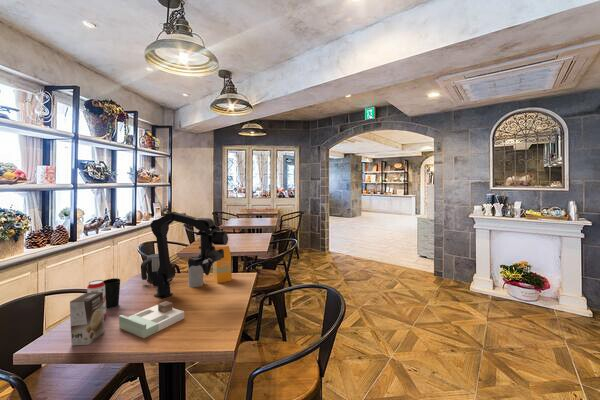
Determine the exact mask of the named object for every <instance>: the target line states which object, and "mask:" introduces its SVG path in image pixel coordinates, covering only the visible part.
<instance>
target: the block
mask: <svg viewBox="0 0 600 400" xmlns="http://www.w3.org/2000/svg"><path fill="white" fill-rule="evenodd" d="M157 305H158V311H160V312H163V313H166V312H168V311H170V310H172V309H173V308H174V307H173V302H171V301H169V300H168V301H167V300H165V301H162V302H160V303H158V304H157Z"/></svg>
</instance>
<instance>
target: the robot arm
mask: <svg viewBox="0 0 600 400" xmlns="http://www.w3.org/2000/svg"><path fill="white" fill-rule="evenodd" d="M173 222H176V223H180V224H184V225H189V226H192V227H193V228H195V229H196V230H198V232H197V233H196V234H195V235H196V236H200V237H199V238H200V240H199V242H200V245H199V246H198V249H199V250H200V254H198V256H193V257H194V258H192V257H189V258H190V259H189V258H188V259H189V260H187V266H189V265H192V266H199V265H200V266H201V267H202V269H203V273H204V274H205V276H209V274H210V272H211V268H212V267H213V263H214V262H216V261H218V260H221V258H224V250H223V249H219V250H215V248H216V246H218V245H220V246H226V245H228V242H229V236H228V234H227V231H226V230H219V229H218V227H217V226H216V225H215V223H214V220H213V219H212V218H210V217H209V218H207V217H196V216H190V215H187V214H184V213H179V212H178V211H169V212H167V213H166V214H165V215H163V216H161V217H159V218H157V219H153V220H152V221H151V222H150V229H151V232H152V234H153V235H154V236H155V240H156V247H157V254H158V256H159V263H160V266H159V268H158V271H157V278H156V279H155V280H154V281H153V282H152V285H153V287H156V294H154V295H153V296H154V297H156V298H160V299H164V298H166V297H167V298H168V297H169V296H171V295H174V294H173V292H171V282H173V279H174V277H175V276H176V273H177V270H176V265H173V264H172V263H171V259H170V250H169V244H168V243H169V242H168V237H167V236H168V233H169V230H170V224H172V223H173ZM215 245H216V246H215ZM197 257H201V258H197Z"/></svg>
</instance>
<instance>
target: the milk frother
mask: <svg viewBox="0 0 600 400" xmlns="http://www.w3.org/2000/svg"><path fill="white" fill-rule="evenodd" d="M159 266H160V263H159V256H158V253H153V254H152V253H151V254H149V255H146V259H145V260H143V261H142V262H141V264H140V276H141V280H143V281H147V282H148V283H153V281H154V280H155V279H156V278H157V271H158V268H159Z"/></svg>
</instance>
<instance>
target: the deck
mask: <svg viewBox="0 0 600 400" xmlns="http://www.w3.org/2000/svg"><path fill="white" fill-rule="evenodd" d="M184 319H185V311H184V310H180V309H178V308H174V307H173V309H172V310H170V311H168V312H166V313H163V312H160V311H158V304H156V305H154V306H151V307H149V308H146V309H144V310H141V311H139V312H136V313H134V314H132V315H129V316H126V315H123V314H120V315H118V327H119V329H121V330H124V331H126V332H128V333H131V334H134V335H135V336H137V337H140V338H142V339H146V338H148V337H150V336H151V335H153V334H156V333H157V332H159V331H162V330H163V329H166V328H167V327H169V326H171V325H174V324H176V323H178V322H180V321H181V320H184Z"/></svg>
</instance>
